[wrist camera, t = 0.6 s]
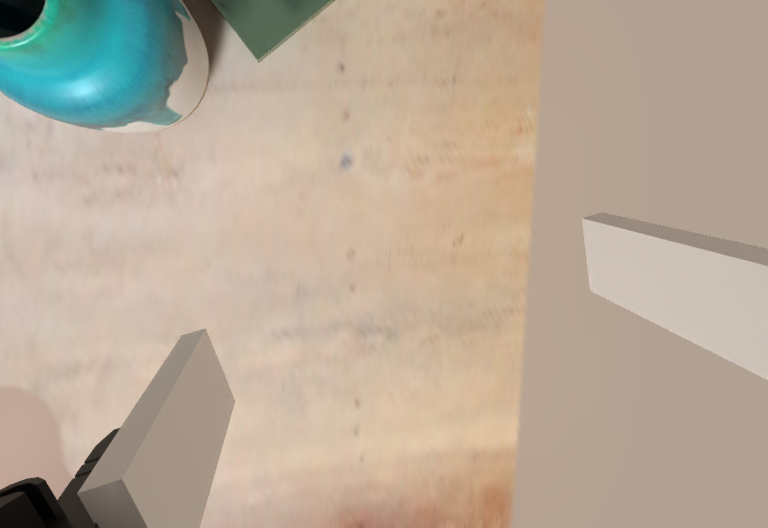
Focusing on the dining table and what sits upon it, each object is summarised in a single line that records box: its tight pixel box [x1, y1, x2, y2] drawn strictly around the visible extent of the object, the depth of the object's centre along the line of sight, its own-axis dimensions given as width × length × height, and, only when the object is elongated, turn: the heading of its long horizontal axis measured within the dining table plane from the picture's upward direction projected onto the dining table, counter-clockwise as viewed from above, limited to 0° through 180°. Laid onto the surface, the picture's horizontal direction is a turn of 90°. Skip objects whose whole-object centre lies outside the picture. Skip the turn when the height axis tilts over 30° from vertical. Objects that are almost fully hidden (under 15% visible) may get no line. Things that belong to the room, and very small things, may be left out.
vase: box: [0, 0, 209, 133], centre depth 26 cm, size 11×11×19 cm
